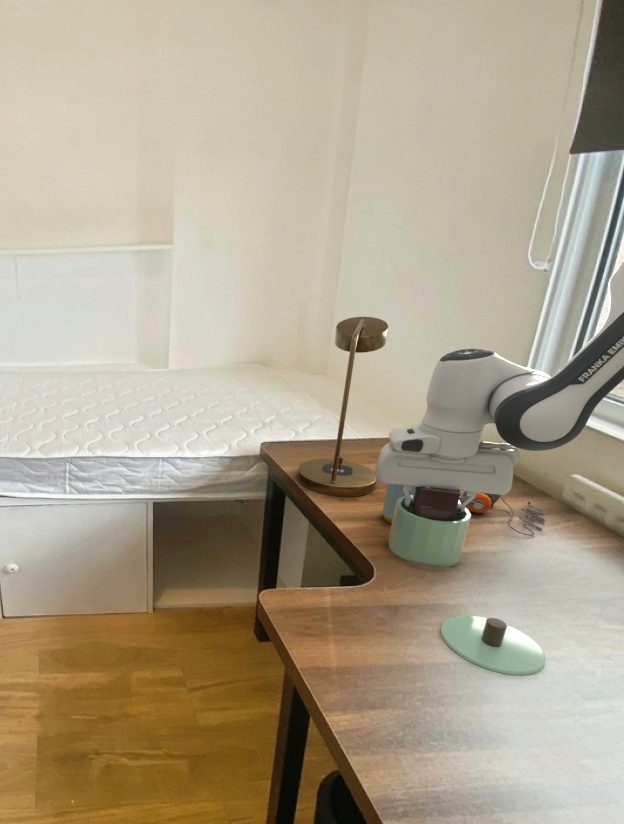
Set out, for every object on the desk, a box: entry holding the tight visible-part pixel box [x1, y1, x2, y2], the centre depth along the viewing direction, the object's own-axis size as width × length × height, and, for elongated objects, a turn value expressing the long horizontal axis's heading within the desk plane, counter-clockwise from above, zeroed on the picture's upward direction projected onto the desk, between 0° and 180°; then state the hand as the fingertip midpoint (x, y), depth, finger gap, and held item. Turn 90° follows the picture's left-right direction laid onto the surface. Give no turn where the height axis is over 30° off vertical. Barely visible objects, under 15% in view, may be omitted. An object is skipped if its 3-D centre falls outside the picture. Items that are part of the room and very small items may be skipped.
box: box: [412, 486, 461, 521], centre depth 104 cm, size 6×6×7 cm
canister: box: [387, 496, 472, 568], centre depth 106 cm, size 11×11×10 cm
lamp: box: [296, 316, 389, 498], centre depth 134 cm, size 17×27×38 cm, turn 146°
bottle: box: [381, 484, 416, 525], centre depth 116 cm, size 7×7×15 cm
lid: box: [440, 615, 546, 676], centre depth 83 cm, size 12×12×5 cm
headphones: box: [459, 492, 546, 537], centre depth 119 cm, size 17×5×20 cm
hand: (433, 507), depth 104 cm, fingers closed on box, 6 cm apart
